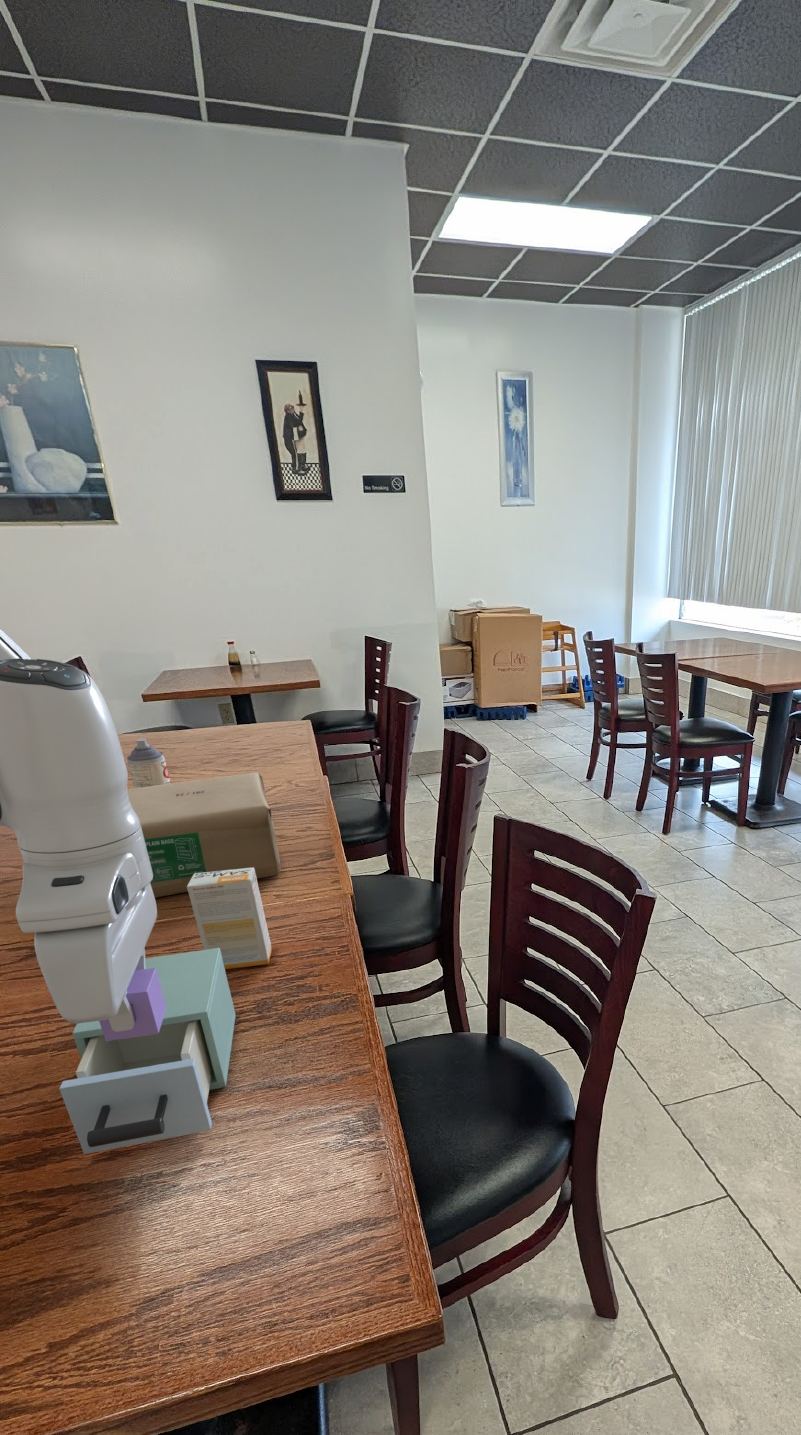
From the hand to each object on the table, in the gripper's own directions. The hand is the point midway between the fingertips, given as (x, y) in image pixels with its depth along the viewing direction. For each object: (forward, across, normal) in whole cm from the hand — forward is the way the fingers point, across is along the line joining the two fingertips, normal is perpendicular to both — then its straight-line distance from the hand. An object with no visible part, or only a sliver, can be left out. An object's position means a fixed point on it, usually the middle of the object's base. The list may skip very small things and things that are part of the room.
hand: (132, 1009), depth 68 cm
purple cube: (+2, 0, 0) cm, 2 cm away
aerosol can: (+15, -98, -15) cm, 100 cm away
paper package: (+15, -76, -5) cm, 77 cm away
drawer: (+14, -3, -1) cm, 14 cm away
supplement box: (+15, -36, +4) cm, 39 cm away
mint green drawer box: (+15, -14, -2) cm, 20 cm away
